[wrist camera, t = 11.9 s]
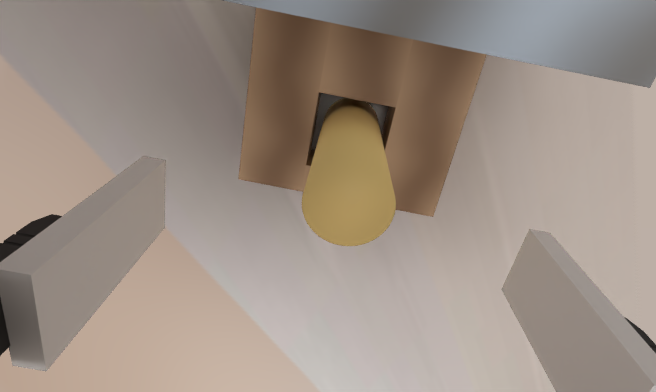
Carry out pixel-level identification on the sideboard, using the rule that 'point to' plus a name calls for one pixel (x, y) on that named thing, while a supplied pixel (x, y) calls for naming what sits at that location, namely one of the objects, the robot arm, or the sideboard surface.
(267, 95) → the socket station
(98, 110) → the sideboard surface
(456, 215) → the sideboard surface
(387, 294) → the sideboard surface
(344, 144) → the peg
